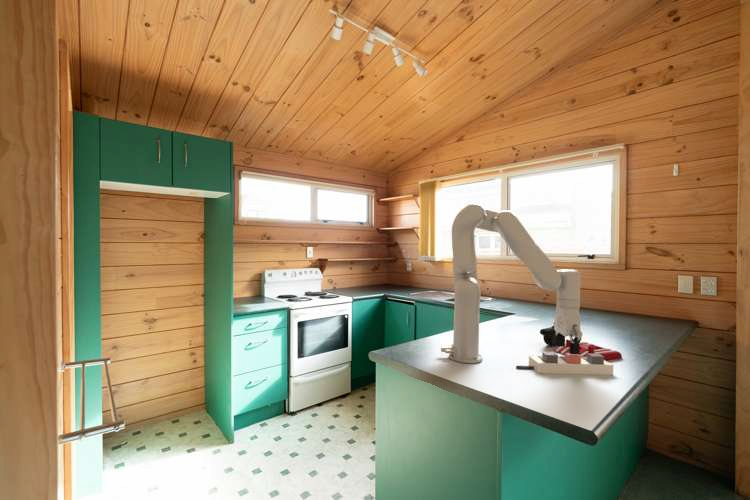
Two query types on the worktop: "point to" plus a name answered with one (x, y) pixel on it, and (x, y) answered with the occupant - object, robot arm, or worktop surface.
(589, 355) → the button
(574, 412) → the worktop surface
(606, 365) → the button panel
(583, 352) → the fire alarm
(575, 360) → the button
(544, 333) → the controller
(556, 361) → the button
